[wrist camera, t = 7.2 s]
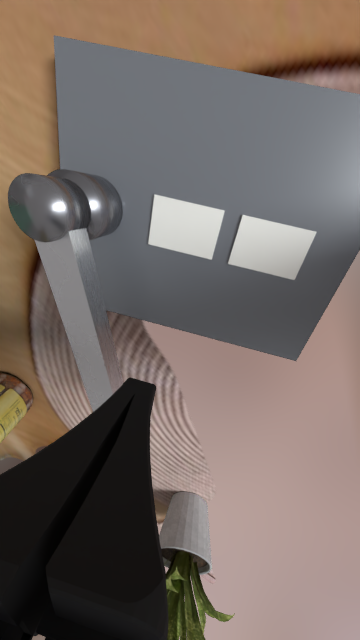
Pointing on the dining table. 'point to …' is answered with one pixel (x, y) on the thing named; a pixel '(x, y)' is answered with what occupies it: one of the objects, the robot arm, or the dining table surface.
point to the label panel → (214, 191)
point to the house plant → (187, 566)
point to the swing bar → (70, 273)
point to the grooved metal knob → (97, 201)
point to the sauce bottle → (12, 403)
